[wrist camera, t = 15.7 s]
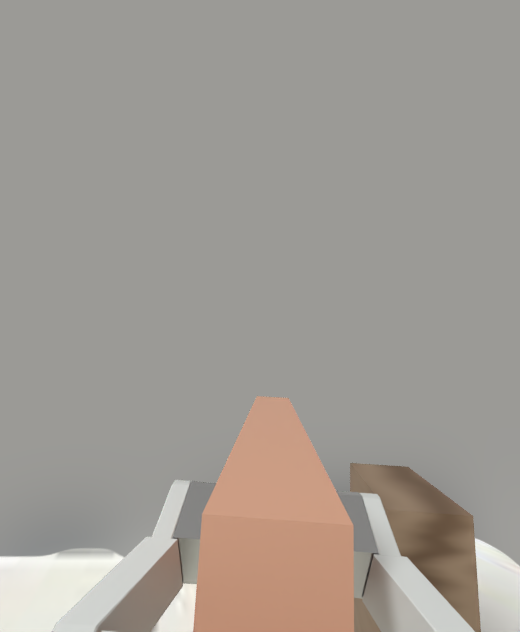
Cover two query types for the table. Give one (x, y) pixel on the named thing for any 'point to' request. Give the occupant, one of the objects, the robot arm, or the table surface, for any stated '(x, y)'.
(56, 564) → the table surface
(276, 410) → the bar
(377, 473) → the pillar
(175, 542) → the robot arm
